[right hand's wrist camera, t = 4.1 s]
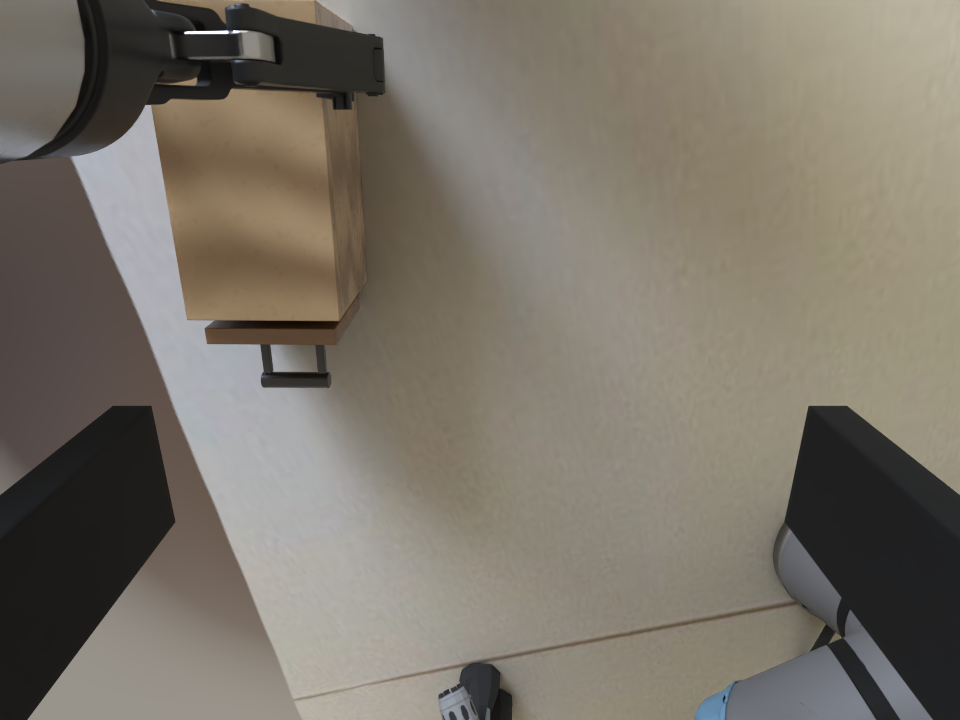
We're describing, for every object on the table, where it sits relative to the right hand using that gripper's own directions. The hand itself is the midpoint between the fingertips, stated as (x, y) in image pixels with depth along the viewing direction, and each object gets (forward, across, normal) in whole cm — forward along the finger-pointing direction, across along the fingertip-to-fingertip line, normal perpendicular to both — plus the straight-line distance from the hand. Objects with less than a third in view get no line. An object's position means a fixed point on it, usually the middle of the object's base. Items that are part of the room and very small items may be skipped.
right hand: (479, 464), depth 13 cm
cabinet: (+41, +15, -3) cm, 43 cm away
